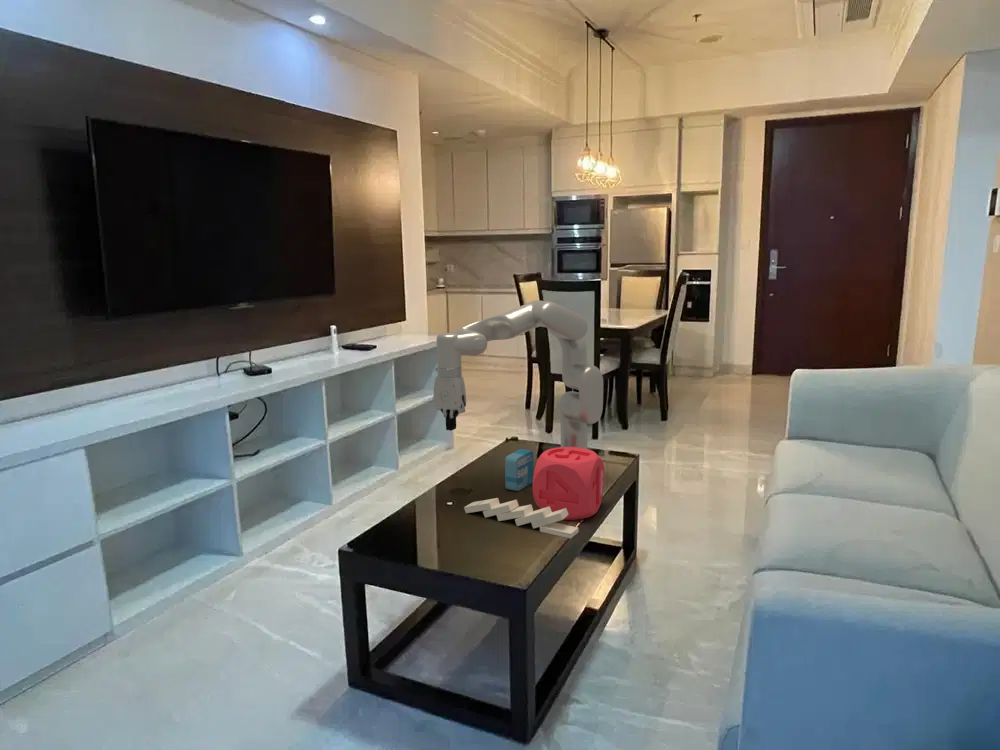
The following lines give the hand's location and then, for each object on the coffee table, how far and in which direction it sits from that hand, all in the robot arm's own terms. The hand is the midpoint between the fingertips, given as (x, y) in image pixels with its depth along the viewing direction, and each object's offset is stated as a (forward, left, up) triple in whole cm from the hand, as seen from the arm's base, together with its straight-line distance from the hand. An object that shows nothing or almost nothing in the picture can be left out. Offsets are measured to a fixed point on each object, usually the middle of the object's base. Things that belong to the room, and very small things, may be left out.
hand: (451, 429), depth 211 cm
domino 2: (-11, +10, -24) cm, 28 cm away
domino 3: (-15, +13, -24) cm, 31 cm away
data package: (-23, -15, -25) cm, 37 cm away
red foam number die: (-37, +8, -25) cm, 45 cm away
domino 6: (-27, +22, -25) cm, 42 cm away
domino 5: (-25, +20, -24) cm, 40 cm away
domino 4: (-20, +17, -24) cm, 36 cm away
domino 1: (-5, +6, -24) cm, 25 cm away
